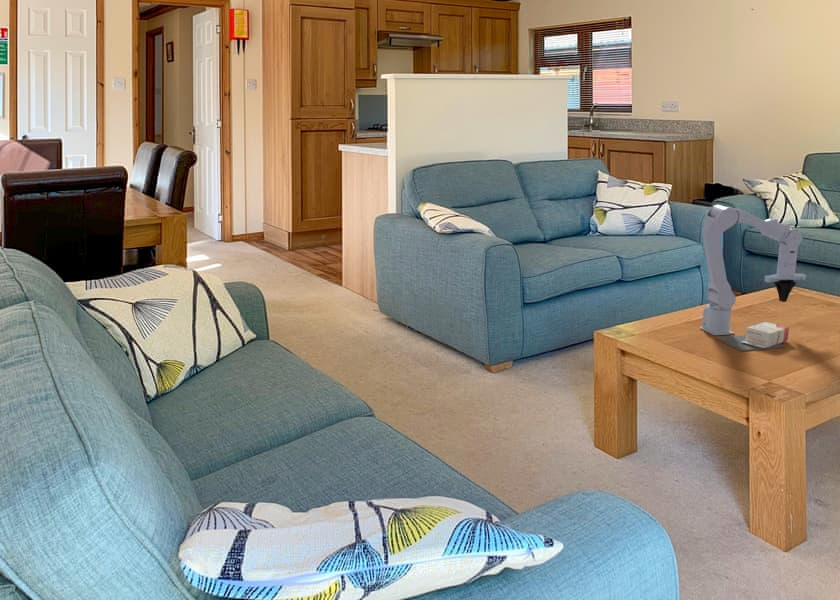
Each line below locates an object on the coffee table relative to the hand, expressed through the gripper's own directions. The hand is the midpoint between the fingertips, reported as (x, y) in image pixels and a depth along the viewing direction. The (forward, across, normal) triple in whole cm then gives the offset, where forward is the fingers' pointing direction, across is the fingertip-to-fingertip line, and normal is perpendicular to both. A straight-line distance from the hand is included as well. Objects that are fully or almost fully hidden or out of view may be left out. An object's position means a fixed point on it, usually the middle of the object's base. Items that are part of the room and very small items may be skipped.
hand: (782, 301), depth 267 cm
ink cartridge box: (+8, -8, -9) cm, 14 cm away
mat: (+10, -19, -11) cm, 24 cm away
